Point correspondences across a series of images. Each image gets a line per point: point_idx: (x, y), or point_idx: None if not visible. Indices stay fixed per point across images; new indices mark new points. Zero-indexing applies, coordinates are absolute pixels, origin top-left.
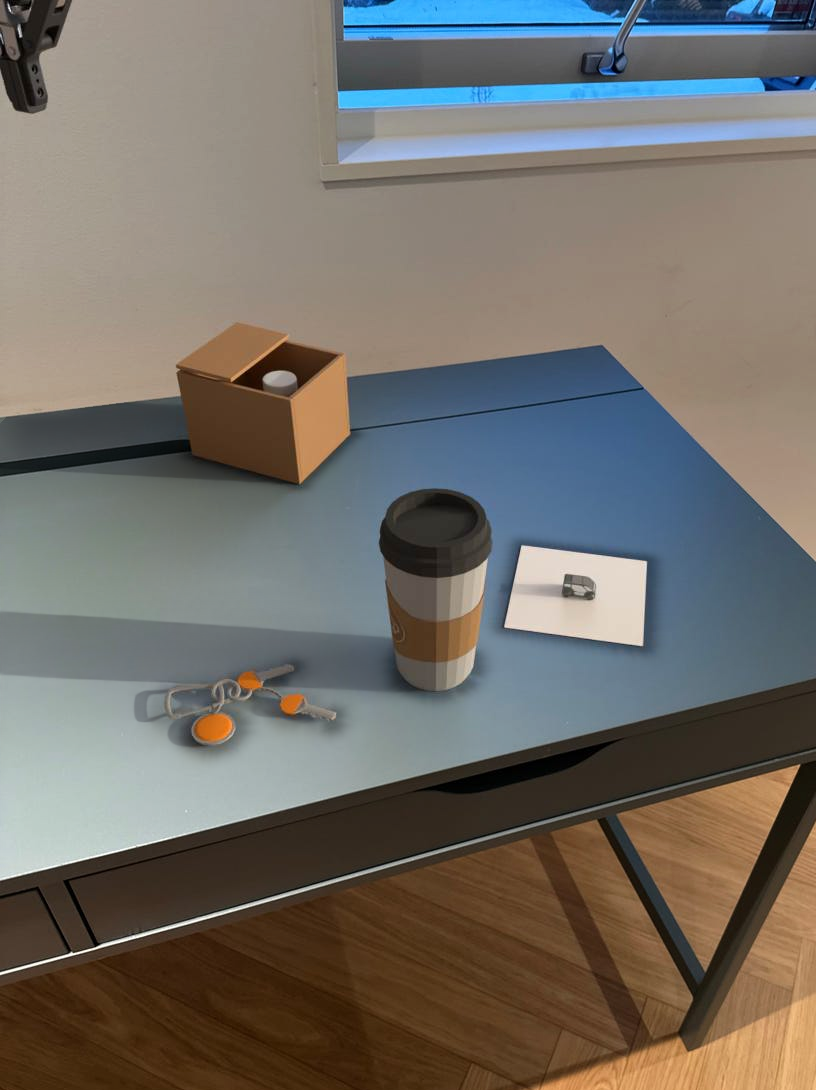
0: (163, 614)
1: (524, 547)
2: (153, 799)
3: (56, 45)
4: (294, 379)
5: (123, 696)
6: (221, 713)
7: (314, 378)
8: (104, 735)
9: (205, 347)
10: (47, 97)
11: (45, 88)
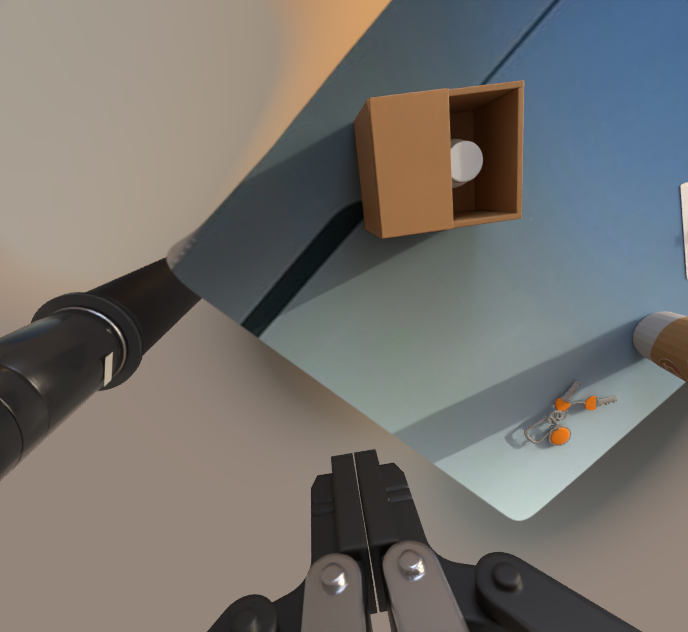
0: (477, 386)
1: (683, 186)
2: (553, 475)
3: (516, 557)
4: (480, 154)
5: (499, 442)
6: (559, 427)
7: (521, 160)
8: (507, 463)
9: (382, 184)
10: (399, 470)
11: (407, 486)
